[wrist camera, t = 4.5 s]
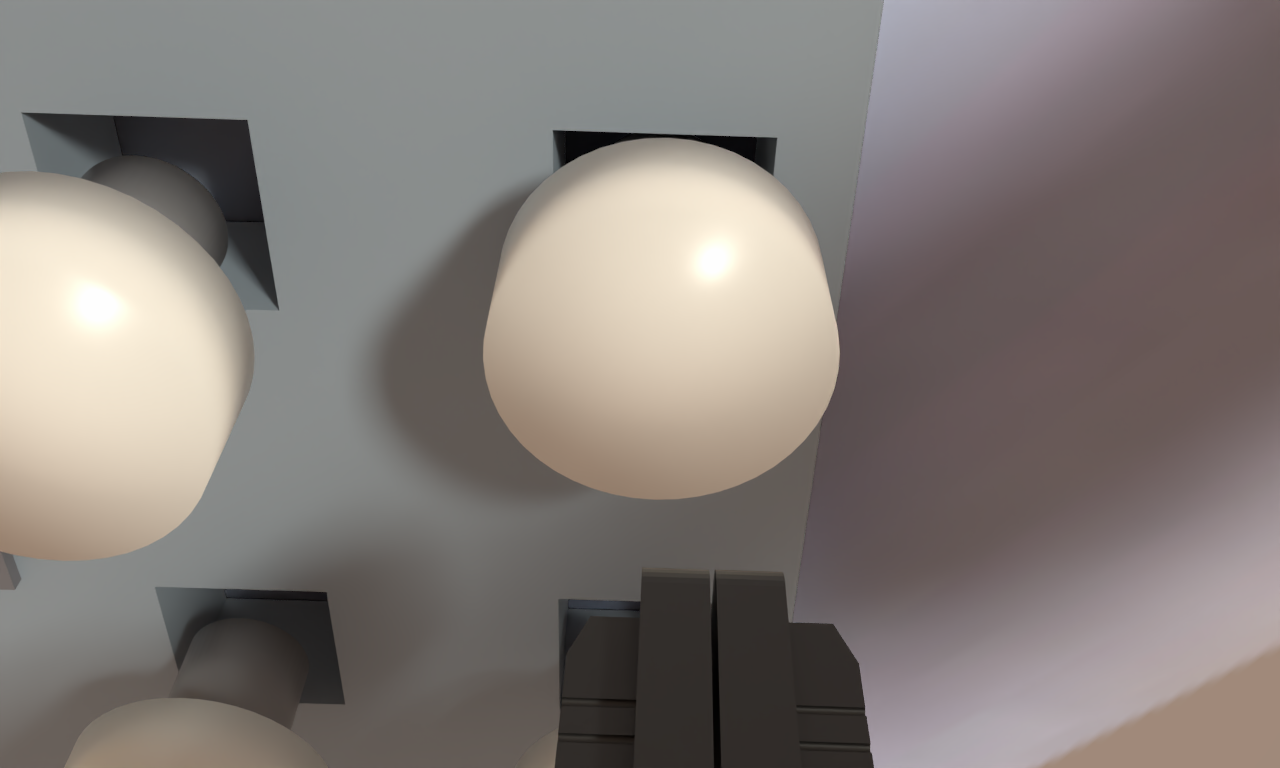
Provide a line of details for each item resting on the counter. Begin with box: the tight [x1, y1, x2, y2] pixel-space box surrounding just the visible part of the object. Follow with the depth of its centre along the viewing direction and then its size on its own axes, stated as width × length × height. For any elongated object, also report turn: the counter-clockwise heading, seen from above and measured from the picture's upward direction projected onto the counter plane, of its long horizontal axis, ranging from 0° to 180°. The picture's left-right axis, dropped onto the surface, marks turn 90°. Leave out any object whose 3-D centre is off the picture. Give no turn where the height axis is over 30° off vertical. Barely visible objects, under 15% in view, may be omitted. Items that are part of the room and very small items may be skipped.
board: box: [0, 0, 884, 768], centre depth 24 cm, size 22×22×3 cm
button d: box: [64, 618, 328, 768], centre depth 23 cm, size 5×5×5 cm
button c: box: [0, 155, 255, 561], centre depth 17 cm, size 5×5×5 cm
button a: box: [483, 133, 840, 500], centre depth 19 cm, size 5×5×5 cm
